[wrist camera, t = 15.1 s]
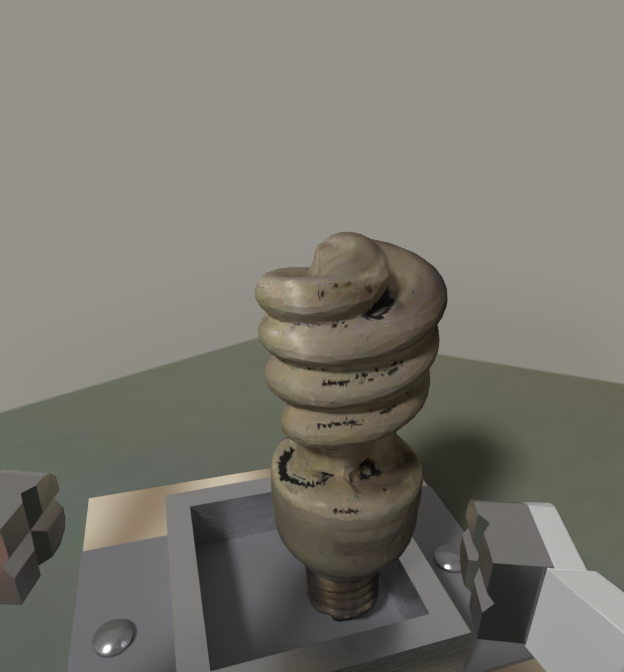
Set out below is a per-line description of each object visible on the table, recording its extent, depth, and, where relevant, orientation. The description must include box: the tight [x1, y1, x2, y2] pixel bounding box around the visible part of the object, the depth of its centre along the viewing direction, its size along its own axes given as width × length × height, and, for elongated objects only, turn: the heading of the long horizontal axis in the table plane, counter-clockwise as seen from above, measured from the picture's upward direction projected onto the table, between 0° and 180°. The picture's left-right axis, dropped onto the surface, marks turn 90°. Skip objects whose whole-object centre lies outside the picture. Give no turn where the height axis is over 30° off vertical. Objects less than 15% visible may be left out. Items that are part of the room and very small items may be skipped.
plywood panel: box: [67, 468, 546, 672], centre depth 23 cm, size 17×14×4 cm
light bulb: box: [255, 232, 447, 622], centre depth 18 cm, size 6×6×15 cm
